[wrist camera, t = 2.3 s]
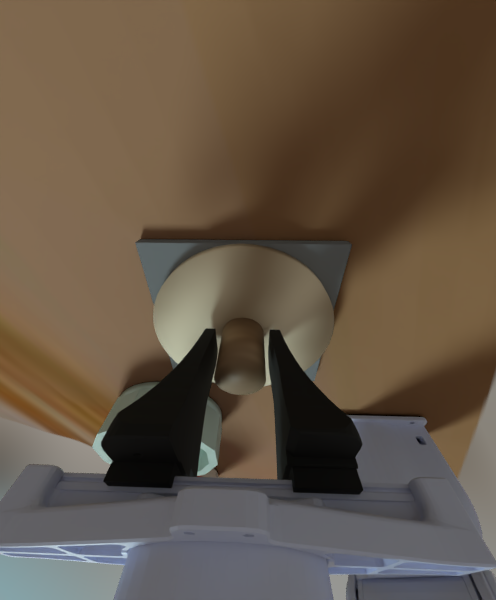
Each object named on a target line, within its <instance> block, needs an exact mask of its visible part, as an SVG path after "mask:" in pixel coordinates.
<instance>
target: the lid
mask: <svg viewBox="0 0 496 600" xmlns="http://www.w3.org/2000/svg"><path fill="white" fill-rule="evenodd" d="M153 321H154V327H155V331H156V334H157V337H158V339H159V341H160V343H161V345H162V346H163V348H164V349H165V351H166V352H167V353H168V355H169V356H170V357H171V358H172V359H173V360H174V361H175V362H176V363H178V364H179V363H180V362H181V360H182V359H183V358H184V357H185V356H186V355H187V353H188V352H189V351H190V350H191V348H192V347H193V346H194V344H195V343H196V342H197V340H198V339H199V337H200V336H201V335H202V333H203V331H204V330H205V329H206V328H212V329H216V338H217V347H218V354H217V362H216V368H215V372H214V376H213V380H212V382H214V383H216V384H217V386H218V387H219V388H220V389H222V390H224V391H226V392H228V393H231V394H236V395H247V394H252V393H255V392H257V391H259V390H260V389H262V388H263V386H267V385H271V380H270V373H269V365H268V345H269V331H270V330H280V331H281V333H282V336H283V338H284V340H285V342H286V344H287V346H288V348H289V349H290V351H291V353H292V354H293V356H294V358H295V359H296V361H297V362H298V364H299V365H300V367H301V368H302V369H303V371H305V370H307V369H308V368H309V367H310V366H312V365H313V364H314V363H315V362H316V361H317V360H318V359H319V358H320V357H321V355H322V354H323V353H324V352H325V350H326V348H327V346H328V345H329V342H330V340H331V337H332V334H333V329H334V312H333V307H332V304H331V301H330V298H329V296H328V294H327V292H326V290H325V289H324V287H323V285H322V283H321V281H320V280H319V279H318V278H317V276H316V275H315V274H314V273H313V272H312V271H311V270H310V269H309V268H308V267H307V266H306V265H305V264H303V263H302V262H300V261H299V260H297V259H296V258H294V257H292V256H290V255H288V254H286V253H284V252H282V251H279V250H276V249H273V248H271V247H266V246H261V245H255V244H228V245H222V246H217V247H213V248H210V249H207V250H204V251H201V252H199V253H197V254H195V255H193V256H191V257H190V258H188V259H187V260H185V261H184V262H182V263H181V264H180V265H179V266H178V267H177V268H176V269H175V270H174V271H173V272H172V273H171V274H170V276H169V277H168V278H167V280H166V281H165V282H164V284H163V285H162V287H161V289H160V291H159V292H158V294H157V297H156V300H155V304H154V311H153Z"/></svg>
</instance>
